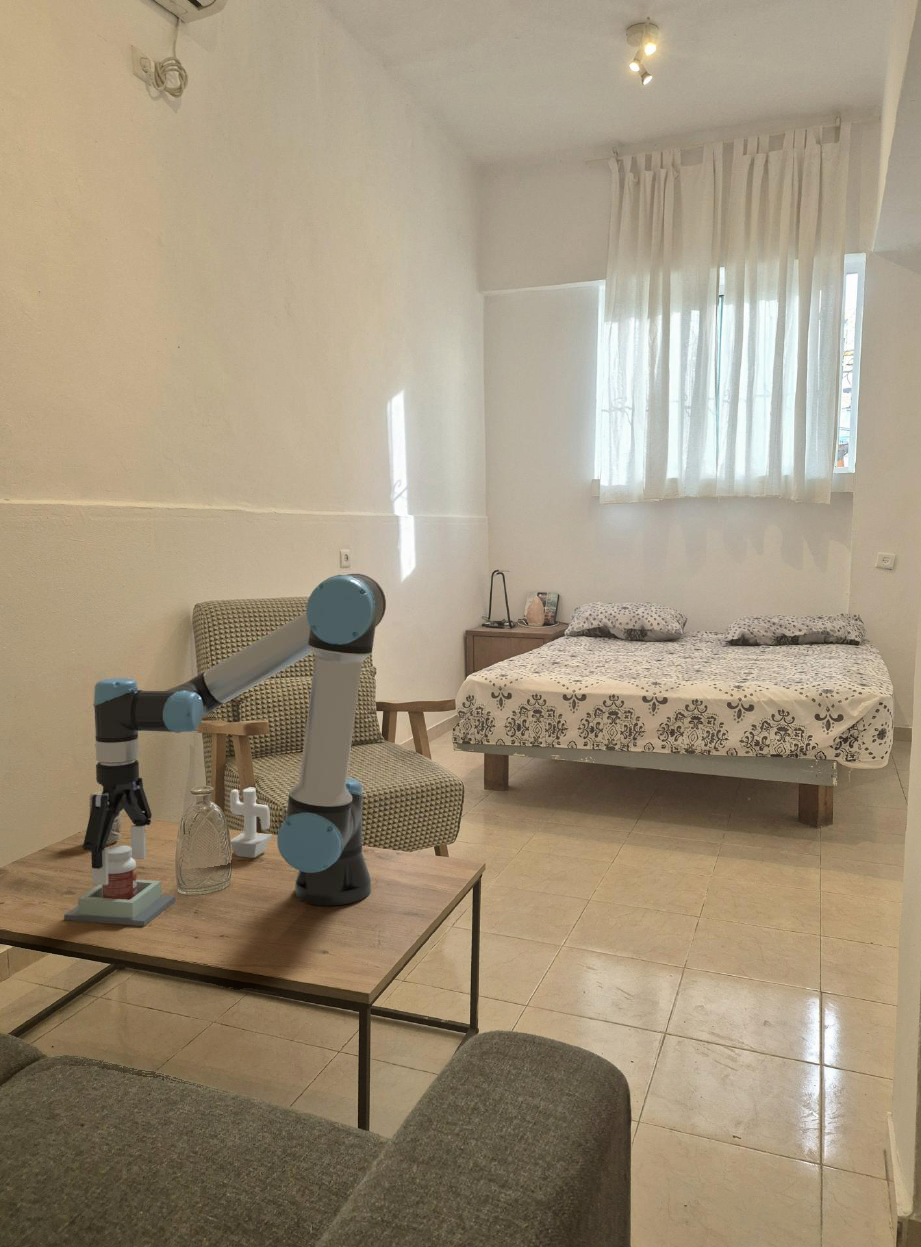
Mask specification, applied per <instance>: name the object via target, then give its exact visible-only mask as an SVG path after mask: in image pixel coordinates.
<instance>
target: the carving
mask: <svg viewBox="0 0 921 1247" xmlns="http://www.w3.org/2000/svg"><path fill="white" fill-rule="evenodd" d="M102 792H103V790H97V791H95V792H92V793H91V794H90V795H89V814H90V813H91V809H92V796H93V795H102ZM107 810H108V809H107ZM121 812H122V811H120V812H119V815H118V816H117V817H115V819H114V822H113V825H112V828H111V831H110V834H109V837H108V839H107V842H106V845H105V846H108V845H111V844H113V843H115V842H117V841H118V840H120V838H121V835H122V822H121V820H122V819H121V817H122V816H121ZM89 817H90V815H89ZM89 817H88V818H89Z"/></svg>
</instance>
